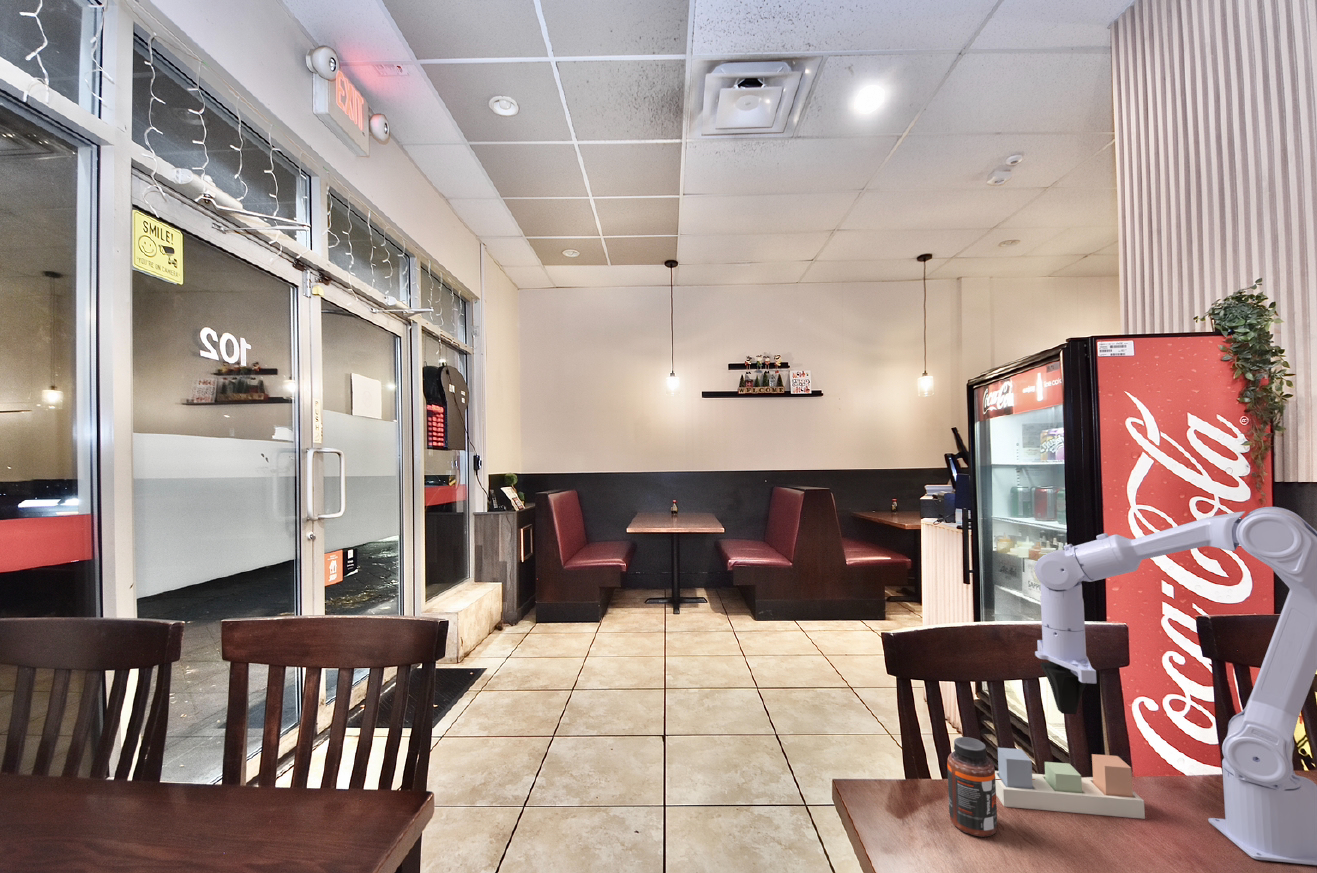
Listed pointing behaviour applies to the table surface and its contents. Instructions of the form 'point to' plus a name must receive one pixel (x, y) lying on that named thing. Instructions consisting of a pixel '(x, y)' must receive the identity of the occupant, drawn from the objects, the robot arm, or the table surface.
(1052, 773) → the button green
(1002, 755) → the button slate
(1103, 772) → the button terracotta
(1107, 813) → the button bar
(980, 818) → the supplement bottle
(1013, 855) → the table surface
